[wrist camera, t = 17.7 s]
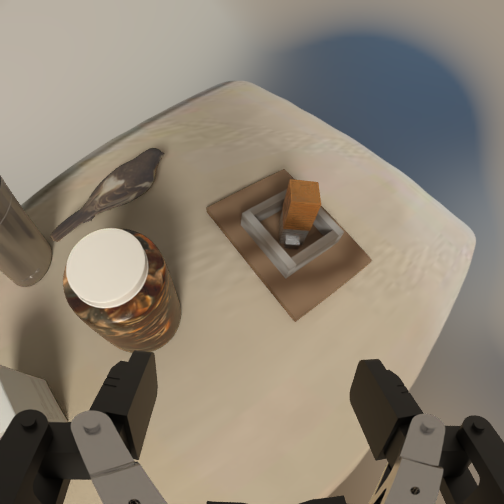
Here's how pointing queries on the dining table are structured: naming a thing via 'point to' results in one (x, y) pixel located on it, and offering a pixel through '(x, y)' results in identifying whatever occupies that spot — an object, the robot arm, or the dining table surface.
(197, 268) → the dining table surface
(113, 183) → the decorative bird
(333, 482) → the dining table surface
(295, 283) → the socket board
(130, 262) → the jar
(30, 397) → the supplement box
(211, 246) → the dining table surface
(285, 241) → the orange rectangular block
